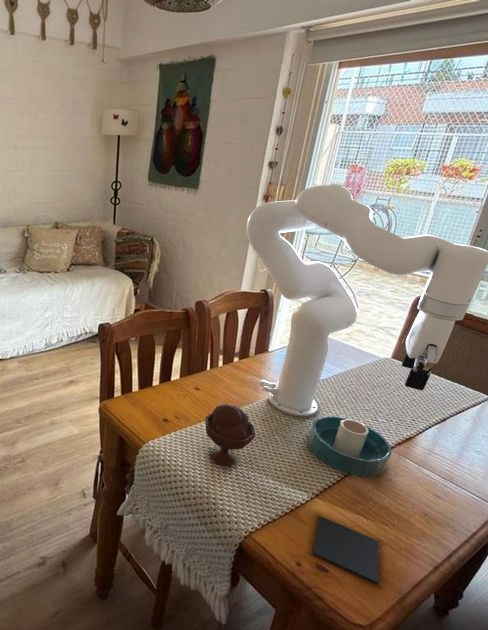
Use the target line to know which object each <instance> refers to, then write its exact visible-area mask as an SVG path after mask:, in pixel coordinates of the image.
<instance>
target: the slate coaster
mask: <svg viewBox="0 0 488 630" xmlns="http://www.w3.org/2000/svg"><path fill="white" fill-rule="evenodd" d="M315 534H316V535H315V542H314V546H313V553H312V556H314V557H317V558H319V559H321V560H323V561H325V562H327V563H330V564H332V565H333V566H334V565H335V567H338V568H340V569H342V570H344V571H346V572H349V573H351V574H353V575H355V576H357V577H359V578H362V579H364V580H366V581H368V582H370V583H372V584H375V585H378V584H379V547H380V546H379V543H380V541H379V540H377V539H375V538H373V537H370V536H368V535H365V534H363V533H361V532H359V531H356V530H354V529H352V528H349V527H348V526H347V527H346V526H344V525H342V524H339V523H338V522H336V521H333V520H330V519H328V518H326V517H324V516H321V515H319V517H318V521H317V529H316V533H315Z"/></svg>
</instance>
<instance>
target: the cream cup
mask: <svg viewBox="0 0 488 630" xmlns="http://www.w3.org/2000/svg"><path fill="white" fill-rule="evenodd" d="M363 424H364V423H362V422H359V421H357V420H354V419H350V418H347V419H345V420H342V421H341V423H340V426H339V428H338V431H337V434H336V437H335V440H334V443H333V446H332V448H333V449H335V450H337V451H339V452H341V453H343V454H346V455H349V456H352V457H355V458H359V456H360V453H361V451H362V448H363V445H364V443H365V440H366V438H367V435H368V432H369V430H368V428H367V427H366V426H367V425H366V424H364V425H363ZM365 425H366V426H365Z"/></svg>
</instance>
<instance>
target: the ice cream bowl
mask: <svg viewBox="0 0 488 630" xmlns="http://www.w3.org/2000/svg"><path fill="white" fill-rule="evenodd" d="M204 420H205V432H206V435H207V437H208V438H209V439H210V440H211V441H212V442H213V443H214V444H215V445H216V446H217V447H219V448H215V449H213V451H211V453H210V458H211V460H212V461H213V462H214V463H215V464H216V465H218V466H221V467H232V466H233V465H234V464H236V462H235V461H236V460H235V456H234V455H233V453H231V451H232V450H233V451H234V450H235V451H237V450H241V449H244V448H245V447H246V446H248V445H249V444H250V443H251V442H252V441H253V440H254V439H255V437H256V430H255V426H254V424H253V423H252V422H250V421H249V415H248V414H247V413H246V412H245V411H244V410H243V409H241V408H240V407H239V406H236V405H233V404H229V403H221V404H219V405H217V406H216V407H215V408H214V409H213V411H212V412H211V413H210V414H208V415H206V416H205V418H204Z"/></svg>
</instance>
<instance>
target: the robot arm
mask: <svg viewBox="0 0 488 630" xmlns="http://www.w3.org/2000/svg"><path fill="white" fill-rule="evenodd" d="M372 219H373V210H372V208H371V207H370V206H368V205H367V204H364V203H361V202H359V201H357V200H355V199H353V195H352V193H351V191H350V190H349V189H348V188H347V187H345V186H344V185H342V184H341V185H340V184H334V183H333V184H317V185H312V186H311V185H310V186H308V187H306V188H304V189H303V190H302V191H300V193H299V194H298V195H297V196H296V198H295V199H294V200H293V199H292V200H279V201H278V200H277V201H270V202H265V203H262V204H259V205H258V206H256V207H255V208H254V209H253V210H252V211H251V212H250V214H249V216H248V218H247V222H246V237H247V241H248V242H249V244H250V246H251V248H252V249H253V252H255V253H256V255H257V256H258V257H259V259H260V261H261V262H262V263H263V266H264V267H265V269H266V271H267V272H268V274H269V275H270V278H271V279H272V281H273V283H274V284H275V286H276V288H277V290H278V291H279V293H280V294H281V295H282V296H283V297H284V298H285V299H286V300H292V301H297V300H302V299H307V298H310V300H306V301H304V302H302V303H301V304H299V305H298V306H297V307H296V308H294V310H293V312H292V314H291V318H290V333H289V337H288V338H289V339H288V343H287V348H286V351H285V354H284V355H285V356H284V359H283V363H282V366H281V371H280V375H279V377H278V380H277V382H270V381H267V380H265V379H261V380H260V382H259V383H260V384H259V386H260V387H262V391H264V392H267V393H268V397H267V399H268V401H269V402H270V404H271V405H273V406H274V407H275V408H276V409H278V410H279V411H282V412H284V413H287V414H289V415H292V416H298V417H309V416H313V415H315V414H316V413H317V412H318V409H319V407H318V403H317V402H316V401H315V396H316V394H317V390H318V387H319V383H320V380H321V377H322V373H323V370H324V368H325V364H326V360H327V358H328V353H329V340H328V338H329V336H330V334H331V335H332V334H333V333H337V332H339V331H343V330H346V329H348V328H350V327H352V326H353V325H354V323H355V322H356V321H357V318H358V308H357V305H356V303H355V301H354V300H353V298H352V296H351V294H350V293H349V292H348V291H347V288H346V287H345V285H344V283H342V281H341V279H340V278H339V277H338V276H339V275H337V274H336V272H335V271H334V270H333V268H332V267H330V266H329V265H328V264H326V263H324V262H321V261H314V260H313V261H304V260H303V259H302V258H301V257H300V255H299V254H298V252H297V250H296V249H295V247H294V246H293V245H292V244H291V243H290V242H289V241H288V240H287V239H285V238H284V237H283V236H282V235H281V234H282V233H283V234H284V233H291V232H296V231H301V230H305V229H307V228H312V227H315V226H317V227H319V228H321V229H323V230H325V231H327V232H329V233H331V234H332V235H334V236H336V237H337V238H340V239H341V240H342V241H344V243H345V245H346V246H347V247H348V248H349V250H350V251H351V252H352V254H353V255H355V256H357V258H359V259H360V260H362V261H364V262H366V263H368V264H369V265H371V266H373V267H375V268H377V269H379V270H380V271H383V272H385V273H388V274H391V275H394V276H407V275H408V276H409V275H412V274H417V273H427V272H430V275H429V278H428V280H427V283H426V285H425V287H424V290H423V292H422V294H421V296H420V300H419V302H418V304H417V307H416V309H417V310H418V311H419V312H418V314H417V315H416V317H415V319H414V321H413V323H412V326H411V328H410V330H409V332H408V335H407V336H406V339H405V351H406V353H405V355H404V358H403V360H402V362H401V366H402V367H403V368H407V369H410V370H409V373H408V375H407V378H406V381H405V382H404V386H405V387H407V388H410V389H414V390H418V391H424V390H425V388H426V385H427V383H428V381H429V379H430V376H431V374H432V371H433V366H434V365H435V364H437V363H439V361H440V358H441V357H442V355H443V352H444V350H445V348H446V346H447V343H448V341H449V339H450V337H451V334H452V332H453V329H454V326H455V323H456V321H461V320H463V319H464V317H465V316H466V313H467V311H468V309H469V306H470V304H471V302H472V301H473V298H474V295H475V294H476V291H477V289H478V288H479V286H480V282H481V280H482V279H483V277H484V274H485V272H486V269H487V268H488V250H486V249H483V248H482V247H477V246H474V245H468V244H459V243H456V242H453V241H449V240H447V239H444V238H442V237H439V236H436V235H431V234H420V235H413V236H406V237H402V236H399V235H398V234H395V233H393V232H391V231H389V230H386V229H385V228H383V227H381V226H379V225H378V224H376V223H375V222H374V221H373V220H372Z"/></svg>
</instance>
